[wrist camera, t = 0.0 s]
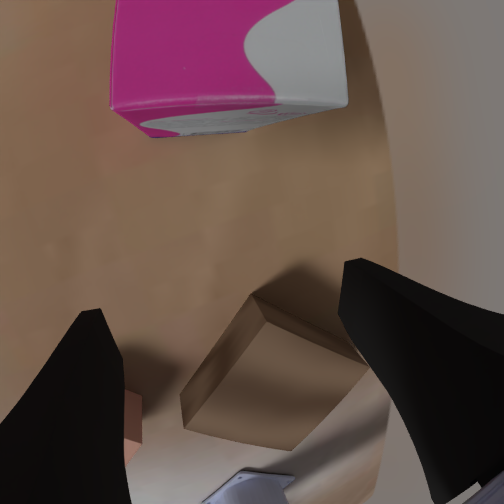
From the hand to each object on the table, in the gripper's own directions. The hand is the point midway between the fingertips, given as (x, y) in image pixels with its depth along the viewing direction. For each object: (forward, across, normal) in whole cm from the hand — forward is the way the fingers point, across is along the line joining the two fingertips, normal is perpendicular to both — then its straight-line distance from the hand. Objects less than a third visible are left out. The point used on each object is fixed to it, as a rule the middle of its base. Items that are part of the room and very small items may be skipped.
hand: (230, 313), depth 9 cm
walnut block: (+9, -3, +14) cm, 17 cm away
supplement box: (+12, -1, -6) cm, 14 cm away
